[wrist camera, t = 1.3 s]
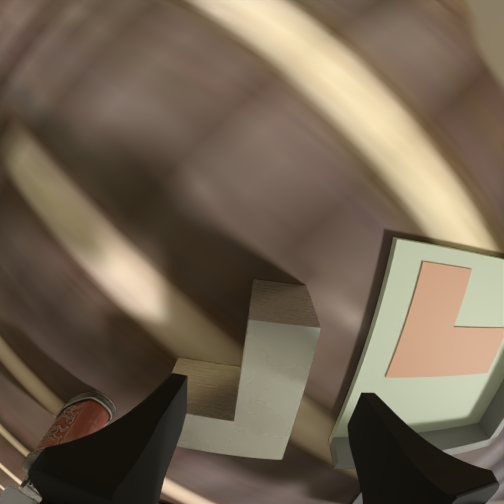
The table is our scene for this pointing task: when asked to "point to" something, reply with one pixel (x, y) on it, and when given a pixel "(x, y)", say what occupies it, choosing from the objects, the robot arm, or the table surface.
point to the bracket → (254, 378)
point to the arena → (434, 349)
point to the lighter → (71, 428)
